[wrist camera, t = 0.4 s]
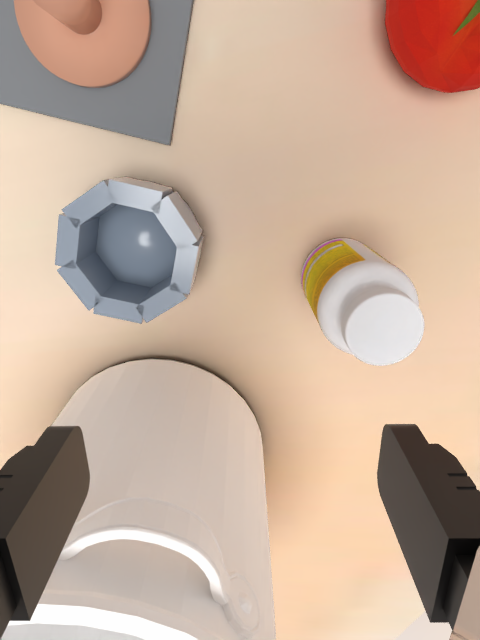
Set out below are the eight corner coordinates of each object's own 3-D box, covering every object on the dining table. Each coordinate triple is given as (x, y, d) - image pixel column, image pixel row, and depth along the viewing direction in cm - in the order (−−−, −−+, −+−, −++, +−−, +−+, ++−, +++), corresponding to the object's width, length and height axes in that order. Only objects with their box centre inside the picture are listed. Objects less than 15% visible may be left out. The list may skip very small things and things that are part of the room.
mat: (-8, -136, 28) (-13, -142, 27) (205, -75, 29) (204, -80, 28) (-12, 100, 32) (-17, 99, 32) (170, 145, 33) (169, 145, 33)
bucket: (219, 558, 49) (199, 909, 26) (32, 505, 46) (-172, 843, 24) (311, 373, 41) (402, 654, 18) (89, 295, 38) (-144, 505, 15)
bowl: (89, 166, 34) (62, 168, 29) (212, 196, 35) (207, 202, 30) (77, 284, 38) (51, 304, 32) (189, 308, 38) (181, 332, 33)
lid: (25, -82, 28) (-32, -144, 22) (160, -44, 29) (139, -95, 23) (19, 70, 31) (-32, 51, 25) (141, 101, 32) (118, 89, 26)
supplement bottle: (290, 301, 38) (313, 367, 26) (312, 228, 36) (348, 263, 24) (362, 317, 39) (416, 390, 27) (388, 246, 36) (460, 290, 24)
